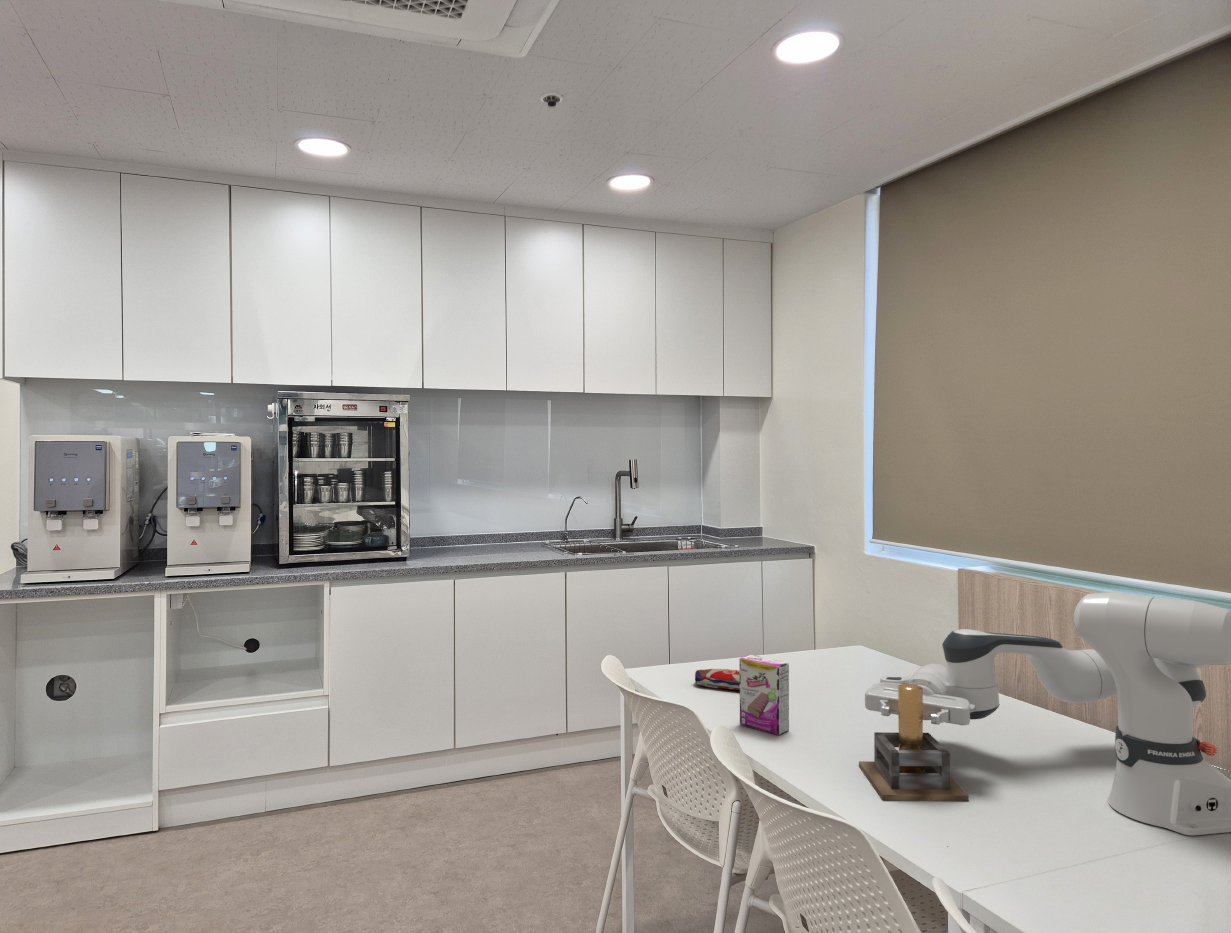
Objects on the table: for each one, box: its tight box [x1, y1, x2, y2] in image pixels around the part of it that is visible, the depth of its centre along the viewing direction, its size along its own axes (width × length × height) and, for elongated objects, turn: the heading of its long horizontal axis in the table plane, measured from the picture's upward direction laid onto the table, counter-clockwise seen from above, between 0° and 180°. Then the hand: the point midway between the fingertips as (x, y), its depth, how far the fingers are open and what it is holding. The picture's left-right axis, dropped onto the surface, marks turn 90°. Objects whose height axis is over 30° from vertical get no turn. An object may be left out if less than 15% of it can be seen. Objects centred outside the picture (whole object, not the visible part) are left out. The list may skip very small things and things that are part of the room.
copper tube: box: [897, 684, 924, 773], centre depth 153 cm, size 4×4×18 cm
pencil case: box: [694, 668, 740, 691], centre depth 217 cm, size 11×20×5 cm, turn 50°
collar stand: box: [858, 731, 970, 802], centre depth 153 cm, size 16×16×8 cm
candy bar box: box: [739, 654, 790, 736], centre depth 184 cm, size 11×5×16 cm, turn 47°
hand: (909, 716), depth 152 cm, fingers open, 8 cm apart
